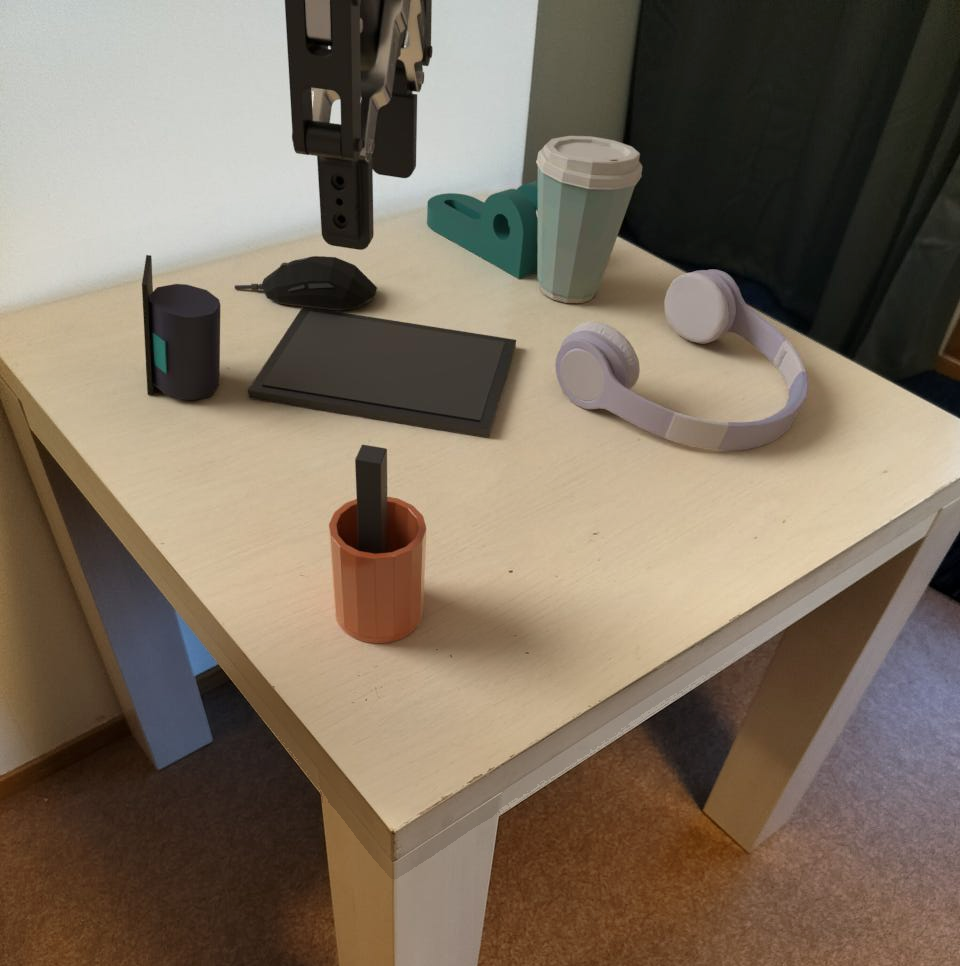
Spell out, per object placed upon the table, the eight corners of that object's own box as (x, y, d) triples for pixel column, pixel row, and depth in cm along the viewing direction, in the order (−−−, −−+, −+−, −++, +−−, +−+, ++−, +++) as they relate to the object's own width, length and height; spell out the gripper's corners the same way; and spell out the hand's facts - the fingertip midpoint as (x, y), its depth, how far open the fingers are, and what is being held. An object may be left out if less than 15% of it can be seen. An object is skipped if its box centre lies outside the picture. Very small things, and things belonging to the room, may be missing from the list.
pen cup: (324, 634, 62) (317, 548, 56) (348, 575, 66) (344, 488, 60) (411, 650, 62) (413, 565, 56) (430, 589, 66) (434, 504, 60)
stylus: (360, 610, 63) (354, 459, 53) (366, 595, 64) (361, 443, 55) (382, 614, 63) (380, 463, 53) (388, 598, 64) (387, 448, 54)
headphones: (539, 385, 85) (710, 496, 77) (553, 317, 80) (738, 430, 72) (675, 313, 97) (834, 403, 89) (694, 250, 91) (866, 340, 84)
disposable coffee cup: (505, 275, 100) (519, 128, 89) (588, 262, 104) (611, 120, 93) (549, 320, 94) (570, 169, 83) (636, 305, 98) (667, 159, 87)
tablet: (248, 398, 81) (247, 388, 80) (303, 314, 91) (302, 304, 91) (488, 438, 79) (489, 428, 78) (515, 347, 90) (516, 338, 89)
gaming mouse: (241, 275, 96) (236, 237, 93) (379, 286, 96) (379, 249, 93) (228, 303, 92) (223, 265, 89) (373, 315, 92) (372, 277, 89)
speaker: (124, 393, 79) (110, 280, 72) (152, 363, 83) (142, 252, 76) (207, 414, 79) (202, 303, 72) (231, 383, 83) (228, 275, 76)
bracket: (560, 263, 103) (570, 192, 97) (518, 278, 100) (526, 206, 94) (457, 207, 112) (460, 139, 106) (415, 220, 108) (416, 150, 102)
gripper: (320, -286, 36) (338, 145, 48) (179, -276, 27) (245, 259, 39) (501, -266, 36) (474, 165, 48) (424, -248, 26) (415, 285, 38)
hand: (372, 207), depth 43 cm, fingers open, 8 cm apart
